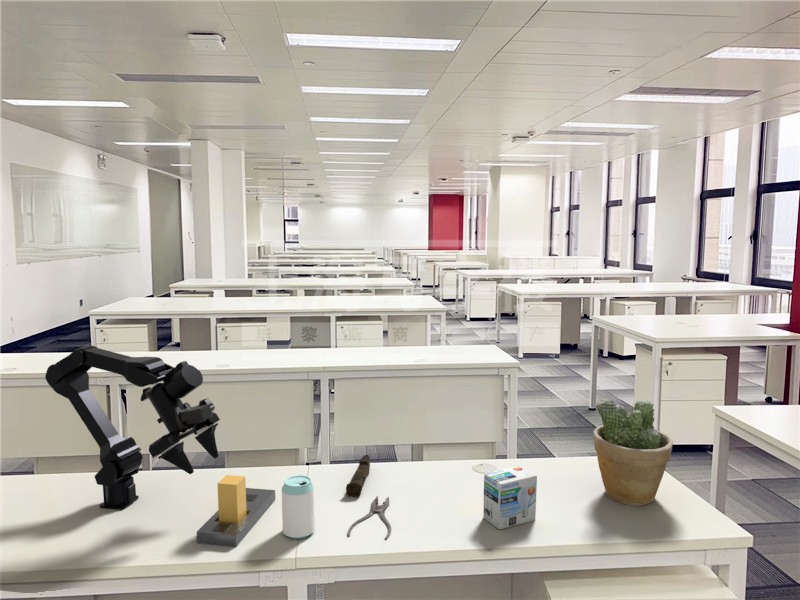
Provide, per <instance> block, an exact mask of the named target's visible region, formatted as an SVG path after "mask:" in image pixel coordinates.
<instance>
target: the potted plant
mask: <svg viewBox="0 0 800 600" xmlns="http://www.w3.org/2000/svg"><path fill="white" fill-rule="evenodd" d="M653 407H654V403H652V402H651V401H649V400H647V399H639V400H637V401H636V402H635V403H634V407H633V410H632V412H631V413H630V414H629V415H628V411H627V409H625V407H624V406H623V405H622V404H615V403H614V400H610V398H603V399H601V400H599V401H597V403H596V406H595V408H596V409H597V411H598V414H599V416H600V417H601V423H602V425H600V426H597V427H596V428H595V429H594V430H593V433H592V434H593V435H592V436H593V443H594V445H593V446H594V450H595V452H596V457H597V462H598V463H597V464H598V468H599V472H600V475H601V476H600V477H601V481H602V484H603V486H604V491H605V493H606V495H607V496H608V498H610V499H611V500H613V501H615V502H617V503H620V504H624V505H628V506H633V507H635V506H637V507H642V506H646V505H649V504H651V503H653V502H654V500H655V498H656V496H657V492H658V490H659V487H660V484H661V482H662V479H663V477H664V474H665V471H666V467H667V463H669V461H670V459H671V456H672V455H671V454H672V451H673V445H674V440H673V439H672V438H671V437H670V436H669V435H668V434H666V433H664V432H661V431H659V430H658V429H655V426H654V422H655V417H654V415H655V413H654V412H655V409H654V408H653Z"/></svg>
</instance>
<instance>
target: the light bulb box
mask: <svg viewBox="0 0 800 600" xmlns="http://www.w3.org/2000/svg"><path fill="white" fill-rule="evenodd" d="M483 475H484V476H483V515H482V517H483V518H484V519H485V520H486V521H487V522H489V523H490V524H491V525H493V526H494V527H496V528H497V529H498V530H505V529H507V528H511V527H514V526H515V527H516V526H519V525H521V524H525V523H529V522H532V521H536V513H537V512H536V511H537V508H536V507H537V487H538V486H537V484H538V483H537V482H538V476H537V475H536V474H534V473H533V472H531V471H530V470H527V469H526V468H523V467H522V466H520V465H515V466H514V467H508V468H504V469H501V470H500V469H499V470H496V471H491V472H487V473H484V474H483Z"/></svg>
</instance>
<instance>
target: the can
mask: <svg viewBox="0 0 800 600" xmlns="http://www.w3.org/2000/svg"><path fill="white" fill-rule="evenodd" d="M315 502H316V501H315V485H314V484H313V482H312V479H311V478H310V476H307V475H302V474H301V475H300V474H299V475H292V476H288V478H286V479H285V480H284V484H283V485H282V486H281V515H282V517H281V518H282V519H281V520H282V521H281V522H282V533H283V534H284V536H286V537H288V538H290V539H293V540H294V539H297V540H298V539H299V540H300V539H304V538H306V537H307V538H308V537H309V536H310V535H312V534H313V532H315V531H316V515H315V513H316V512H315V511H316V509H315V507H316V506H315Z"/></svg>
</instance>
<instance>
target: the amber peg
mask: <svg viewBox="0 0 800 600" xmlns="http://www.w3.org/2000/svg"><path fill="white" fill-rule="evenodd" d="M246 483H247V482H246V476H244V475H232V474H231V475H229V474H226V475H224V477H223V478H222V479H221V480H220V481H218V482H217V504H218V505H217V508H218V510H219V522H230V523H240V522H241V521H242V520H243V519H244V518H245V517H246V516H247V511H246V488H247V487H246Z"/></svg>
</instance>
